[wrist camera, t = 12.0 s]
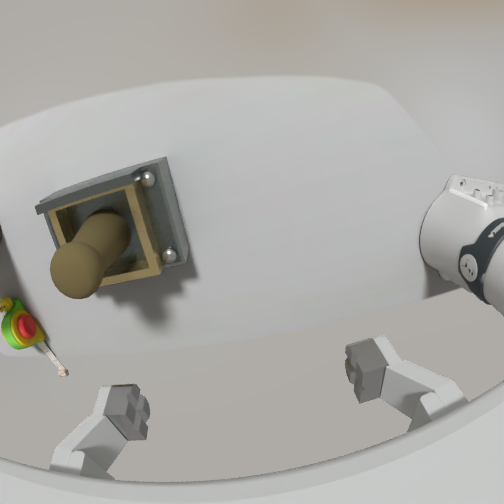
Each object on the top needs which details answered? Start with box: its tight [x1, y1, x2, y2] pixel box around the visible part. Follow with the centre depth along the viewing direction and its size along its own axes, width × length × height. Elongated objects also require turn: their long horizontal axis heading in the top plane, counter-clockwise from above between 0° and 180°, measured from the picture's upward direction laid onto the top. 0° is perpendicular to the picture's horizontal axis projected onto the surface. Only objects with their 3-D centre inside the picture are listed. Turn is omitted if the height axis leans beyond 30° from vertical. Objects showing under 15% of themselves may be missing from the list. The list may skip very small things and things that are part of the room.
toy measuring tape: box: [0, 297, 69, 377], centre depth 40 cm, size 6×20×7 cm, turn 16°
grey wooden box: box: [35, 157, 189, 287], centre depth 33 cm, size 16×12×9 cm
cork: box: [50, 209, 130, 299], centre depth 27 cm, size 6×6×11 cm
